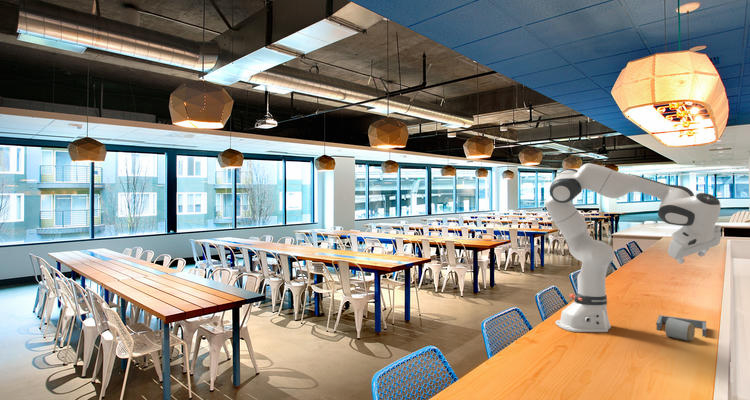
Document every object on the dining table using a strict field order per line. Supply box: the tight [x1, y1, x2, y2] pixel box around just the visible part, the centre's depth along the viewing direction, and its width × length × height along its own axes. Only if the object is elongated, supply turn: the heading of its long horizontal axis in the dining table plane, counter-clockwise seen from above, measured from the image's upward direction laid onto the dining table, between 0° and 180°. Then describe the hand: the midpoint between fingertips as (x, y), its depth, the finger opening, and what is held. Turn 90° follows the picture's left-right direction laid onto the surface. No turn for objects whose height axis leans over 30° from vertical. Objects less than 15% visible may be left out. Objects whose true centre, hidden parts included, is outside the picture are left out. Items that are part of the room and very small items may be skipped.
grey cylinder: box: [664, 318, 696, 342], centre depth 159 cm, size 11×8×8 cm
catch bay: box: [655, 314, 707, 338], centre depth 169 cm, size 14×16×3 cm
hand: (690, 258), depth 159 cm, fingers open, 8 cm apart
